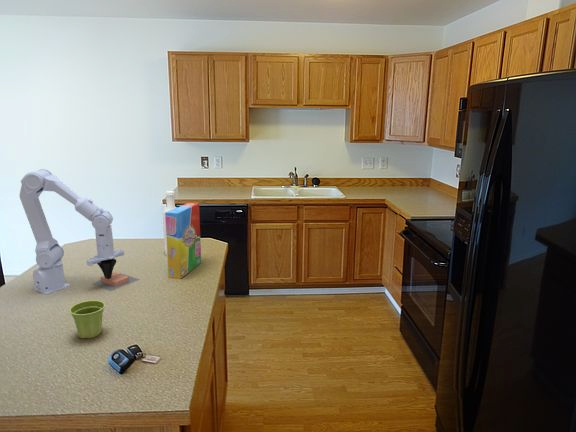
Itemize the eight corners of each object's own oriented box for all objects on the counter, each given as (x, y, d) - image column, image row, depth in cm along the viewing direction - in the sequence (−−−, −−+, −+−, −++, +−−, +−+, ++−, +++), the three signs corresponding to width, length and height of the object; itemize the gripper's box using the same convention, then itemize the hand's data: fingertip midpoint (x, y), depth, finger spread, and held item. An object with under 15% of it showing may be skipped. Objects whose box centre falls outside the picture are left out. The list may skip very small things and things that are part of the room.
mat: (110, 291, 148) (110, 290, 148) (91, 284, 154) (91, 283, 154) (139, 280, 159) (139, 279, 159) (120, 273, 165) (120, 273, 165)
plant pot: (98, 322, 126) (95, 297, 124) (113, 332, 120) (110, 306, 118) (67, 334, 119) (63, 307, 117) (81, 345, 113) (78, 317, 111)
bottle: (164, 251, 193) (160, 190, 186) (181, 250, 196) (178, 189, 188) (165, 257, 186) (161, 193, 179) (182, 255, 188) (179, 192, 181)
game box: (180, 279, 160) (177, 213, 154) (168, 278, 161) (163, 212, 155) (201, 262, 180) (199, 202, 174) (190, 261, 181) (187, 202, 175)
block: (115, 282, 151) (128, 276, 156) (100, 277, 156) (114, 272, 161) (115, 286, 152) (129, 281, 157) (101, 281, 156) (114, 276, 161)
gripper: (93, 251, 142) (97, 286, 146) (128, 241, 154) (130, 274, 158) (81, 247, 146) (85, 282, 149) (116, 238, 158) (119, 270, 161)
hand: (108, 277), depth 154 cm, fingers closed
